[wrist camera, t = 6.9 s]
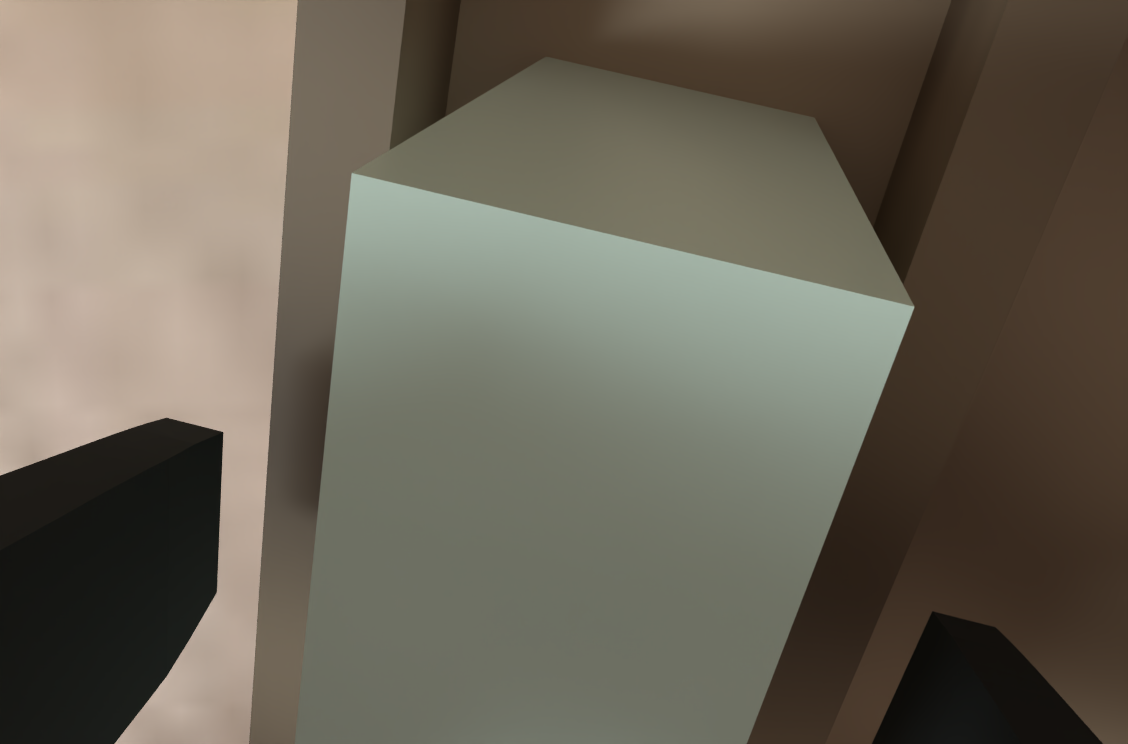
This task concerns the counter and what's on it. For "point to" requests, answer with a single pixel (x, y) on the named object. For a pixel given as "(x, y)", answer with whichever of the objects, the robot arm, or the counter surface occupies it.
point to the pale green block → (587, 416)
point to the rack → (919, 256)
